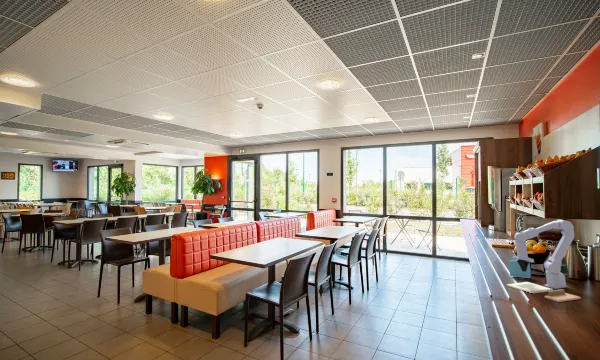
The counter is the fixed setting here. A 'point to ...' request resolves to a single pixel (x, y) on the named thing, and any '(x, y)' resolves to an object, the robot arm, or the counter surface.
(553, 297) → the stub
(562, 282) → the robot arm
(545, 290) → the board
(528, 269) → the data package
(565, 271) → the beer bottle
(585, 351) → the counter surface
